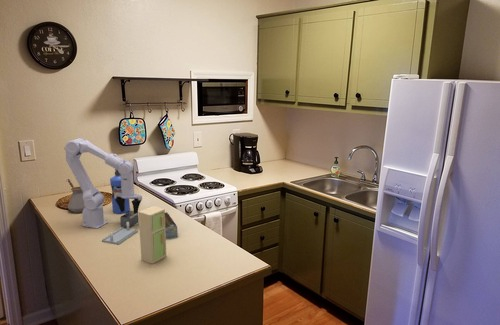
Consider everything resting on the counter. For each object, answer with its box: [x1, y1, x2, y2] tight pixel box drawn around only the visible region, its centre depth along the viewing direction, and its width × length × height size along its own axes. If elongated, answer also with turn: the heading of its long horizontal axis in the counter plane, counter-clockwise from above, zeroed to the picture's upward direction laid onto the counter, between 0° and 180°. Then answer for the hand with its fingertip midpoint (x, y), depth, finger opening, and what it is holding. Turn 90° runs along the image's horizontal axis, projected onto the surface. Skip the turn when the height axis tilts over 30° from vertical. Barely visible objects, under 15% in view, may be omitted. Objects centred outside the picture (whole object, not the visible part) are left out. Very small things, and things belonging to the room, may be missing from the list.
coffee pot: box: [65, 178, 85, 214], centre depth 196 cm, size 21×12×15 cm, turn 44°
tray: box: [101, 222, 139, 245], centre depth 162 cm, size 9×14×5 cm, turn 163°
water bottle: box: [109, 168, 131, 215], centre depth 191 cm, size 9×9×25 cm
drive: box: [119, 210, 139, 229], centre depth 175 cm, size 4×9×6 cm, turn 164°
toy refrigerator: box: [138, 205, 167, 265], centre depth 141 cm, size 8×7×21 cm
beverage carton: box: [165, 211, 179, 240], centre depth 169 cm, size 8×19×7 cm, turn 27°
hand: (129, 212), depth 174 cm, fingers open, 7 cm apart
